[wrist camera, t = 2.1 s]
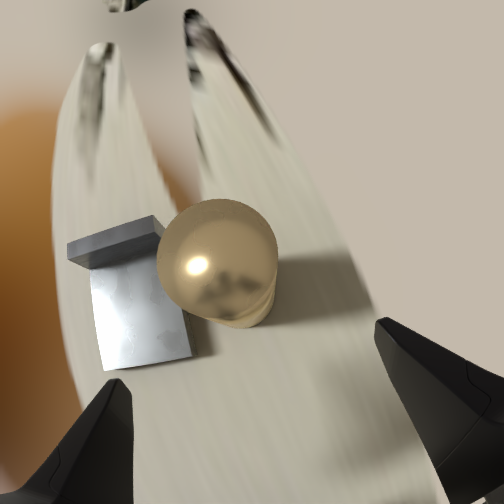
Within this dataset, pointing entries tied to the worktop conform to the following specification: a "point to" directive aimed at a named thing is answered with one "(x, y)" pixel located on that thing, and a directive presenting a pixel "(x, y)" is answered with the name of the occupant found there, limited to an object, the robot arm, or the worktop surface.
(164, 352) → the press bed
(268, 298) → the ball
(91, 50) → the worktop surface
